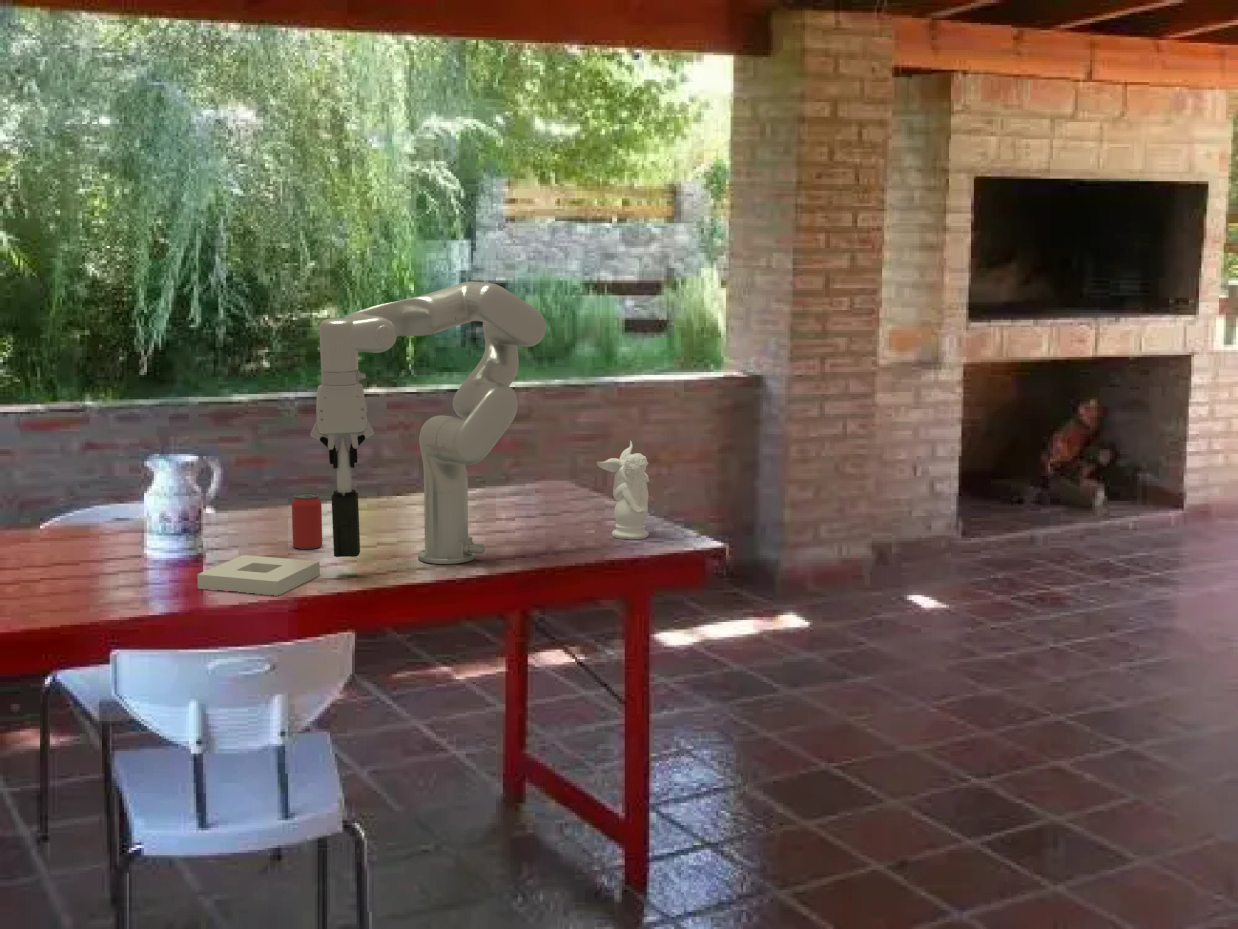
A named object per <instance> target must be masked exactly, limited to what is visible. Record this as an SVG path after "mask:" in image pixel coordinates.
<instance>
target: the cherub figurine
mask: <svg viewBox="0 0 1238 929" xmlns="http://www.w3.org/2000/svg"><path fill="white" fill-rule="evenodd" d="M633 448H634V446H633V441H631V440H629V447H627V448H625V449H624V450H623V451H622V452H621V454H620V456H619V458H616V457H614V458H613V457H611V458H607V459H606V460H605V461H597V462H596V466H597V467H599V468H600V469H603V470H604V471H607V472H611V473H615V475H614V478H613V488H612V494H613V498H614V500H615V501H616V504H615V507H614V510H613V514H614V519H615V521H616V523H615V525H614V526H615V528H616V529H613V530H612V532H611V534H612V535H611V536H612V537H613V538H616V539H620V540H621V539H622V540H625V539H628V540H644V539H646V538H648V536H649V535H650V534H649V531H647V530H645V528H646V527H647V526H646V524H645V522H646V520H647V518H648V511H649V505H648V503H649V494H650V493H649V491H648V484H647V483H649V482H650V479H649V475H648V474H647V472H646V471H647V466H648V465H649V462H648V459H647V456H645V455H643V454H642V453H640V452H638V453H636V452H635V453H632V450H633Z"/></svg>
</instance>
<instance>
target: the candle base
mask: <svg viewBox="0 0 1238 929" xmlns="http://www.w3.org/2000/svg"><path fill="white" fill-rule="evenodd" d="M320 564H321V563H320V561H316V560H308V559H293V558H281V557H272V556H262V555H261V556H259V555H250V554H249V555H248V554H247V555H246V554H241V555H240V556H238V557H235V558H233V559H231V560H228V561H226V562H223V563H221V564H219V565H216V566H214V567H211V568H208V569H206V570H205V571H202V572H200V573H197V574H196V576H197V577H196V578H197V589H198V590H206V589H216V590H215V591H217V590H233V591H240V592H246V593H245V594H249V593H255V594H254V595H260V594H262V596H263V595H264V596H271V595H274V596H273V597H278V595H279V596H281V595H283V594H285V593H287V592H289V591H291V590H293V589H294V588H297V587H299V586H301V585H303V584H306V583H308V582H309V581H311V580H313V579H315V578H318V577H320V575H321V574H320V573H321V570H320V567H321V566H320Z"/></svg>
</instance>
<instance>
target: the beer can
mask: <svg viewBox="0 0 1238 929" xmlns="http://www.w3.org/2000/svg"><path fill="white" fill-rule="evenodd" d="M322 512H323V511H322V501H321V499H320V495H319V494H318V493H317V492H315V493H314V492H301V493H300V492H299V493H296V494H294V495H293V499H292V503H291V523H292V526H291V527H292V546H293V548H295V549H297V548H298V550H303V549H309V550H315V548H316V549H319V548H320V547H322V546H323V518H322V516H323V514H322Z"/></svg>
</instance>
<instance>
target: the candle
mask: <svg viewBox="0 0 1238 929" xmlns="http://www.w3.org/2000/svg"><path fill="white" fill-rule="evenodd" d="M336 453H337V468H336V486H337V487H336V488H337V489H336V490H333V493H332V495H331V516H332V517H331V518H332V539H333V541H332V542H333V557H335V558H347V557H348V558H349V557H350V558H351V557H353V558H354V557H358V556H359V554H360V553H361V538H360V514H359V493H358V492H357V490H355V489H353V488H352V486H353V485H352V470H351V469H352V467H351V463H350V450H349V448H348V447H347V445H346V441H345V437H344V436H341V437H340V443H339V447H338V449H336Z"/></svg>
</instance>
